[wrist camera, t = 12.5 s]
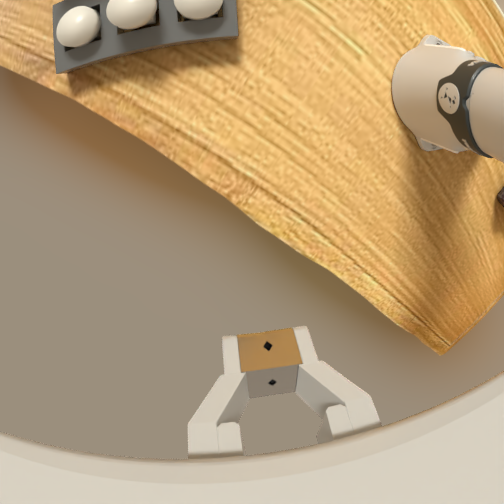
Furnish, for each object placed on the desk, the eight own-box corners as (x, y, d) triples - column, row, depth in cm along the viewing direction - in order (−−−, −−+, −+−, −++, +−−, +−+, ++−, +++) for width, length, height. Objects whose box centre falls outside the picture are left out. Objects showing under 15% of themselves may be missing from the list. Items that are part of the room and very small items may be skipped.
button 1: (107, 6, 23) (95, 0, 20) (109, 41, 26) (96, 38, 23) (71, 19, 23) (55, 15, 19) (73, 53, 26) (57, 52, 22)
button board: (232, -29, 23) (233, -37, 21) (236, 38, 29) (238, 35, 26) (63, 8, 22) (52, 5, 19) (66, 72, 27) (56, 73, 25)
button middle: (160, -10, 23) (153, -20, 19) (162, 27, 25) (155, 21, 22) (117, 0, 22) (105, -8, 19) (119, 36, 25) (107, 32, 21)
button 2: (221, -14, 24) (222, -25, 21) (223, 21, 27) (224, 14, 23) (177, -9, 24) (172, -19, 20) (179, 26, 27) (174, 20, 23)
